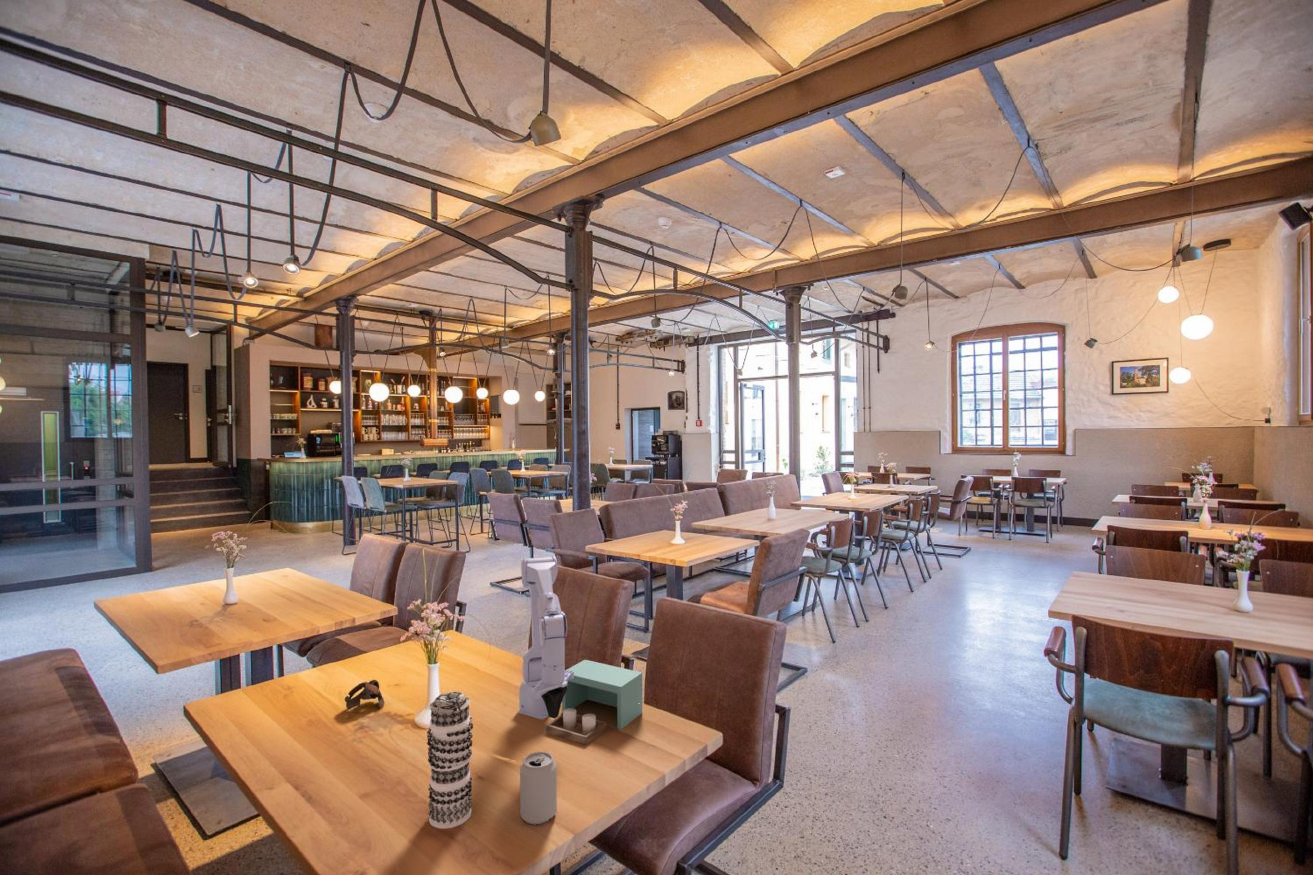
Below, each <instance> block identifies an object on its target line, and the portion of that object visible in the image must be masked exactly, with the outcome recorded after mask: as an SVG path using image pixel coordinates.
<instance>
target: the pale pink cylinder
mask: <svg viewBox="0 0 1313 875" xmlns="http://www.w3.org/2000/svg"><path fill="white" fill-rule="evenodd" d="M596 720H597V716H596V714H594V713H585V714H583V715H582V733H583V734H584V735H587V734H589V733H590V732H591V731H593V730H594V729H595V728H596Z"/></svg>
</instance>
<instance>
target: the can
mask: <svg viewBox="0 0 1313 875" xmlns="http://www.w3.org/2000/svg"><path fill="white" fill-rule="evenodd" d="M557 769H558V768H557V763H556V761H555V760H554V755H552V753H550V752H547V751H536V752H532V753H529V754H528V755H526V756H525V757H524V758H523V761H522V764H521V765H520V766H519V781H520V782H519V789H520V790H519V792H520V793H519V797H520V799H519V802H520V803H519V806H520V807H519V810H520V811H519V814H520V817H521V819H522V820H523V821H525V822H526V823H528V824H530V825H536V824H538V825H543V824H545V823H547V822H549V821H550V820H551V819H552V818H553V817H554V816H555V815H556V813H557V809H558V808H557V807H558V804H557V803H558V802H557V801H558V800H557V797H558V796H557V795H558V794H557V789H558V788H557V787H558V786H557V783H558V782H557V778H558V777H557V774H558V773H557V771H558V770H557ZM550 818H551V819H550ZM549 819H550V820H549ZM548 820H549V821H548ZM546 821H547V822H546ZM544 822H545V823H544ZM542 823H543V824H542Z"/></svg>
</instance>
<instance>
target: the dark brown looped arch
mask: <svg viewBox="0 0 1313 875" xmlns="http://www.w3.org/2000/svg"><path fill="white" fill-rule="evenodd" d="M360 690H361V691H360ZM359 691H360V692H359ZM358 692H359V693H358ZM356 693H358V694H357V695H355V694H356ZM347 694H348V695H349V696H348V695H346V696H345V697H344V702H345V704H346V705H345V706H346V707H345V708H346V709H348V710H349V709H352V708H355V707H357V708H361V700H363V701H366V700H372V699H373V700H376V699H377V701H378V702H377V705H378V707H379V710H382V709H383V708H384V705H385V700H384V697H383V696H382V693H381V690H380V683H379V681H378V680H376V679H371V680H369V681H363V682H360V683H358V684H357V685H356V686H354V687H353V688H352V689H351V690H350V691H349V692H348V693H347ZM354 695H355V696H354Z"/></svg>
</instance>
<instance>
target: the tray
mask: <svg viewBox="0 0 1313 875" xmlns="http://www.w3.org/2000/svg"><path fill="white" fill-rule="evenodd" d="M582 716H583V715H582V714H577V713H576V727H575V728H573V729H565V728H563V714H561V715H560V716H558V717H556V718H555V719H553V720H552V721H550V722H549V723H547V724H546V725H545V726H546V727H545V730H546V734H550V735H552V736H557V737H559V738H563V739H566V740H569V741H572V742H575V743H578V744H582V745H585V746H587V745H588V744H590V743H591V742H592V741H594V740H595V739H597V737H599V736H600V735H601V734H602V733H604V732H606V730H607V722H606V721H602V720H599V719H596V728H595V729H594V730H593V731H591V732H590V733H589V734H587V735H584V734H583V733H582Z"/></svg>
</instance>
